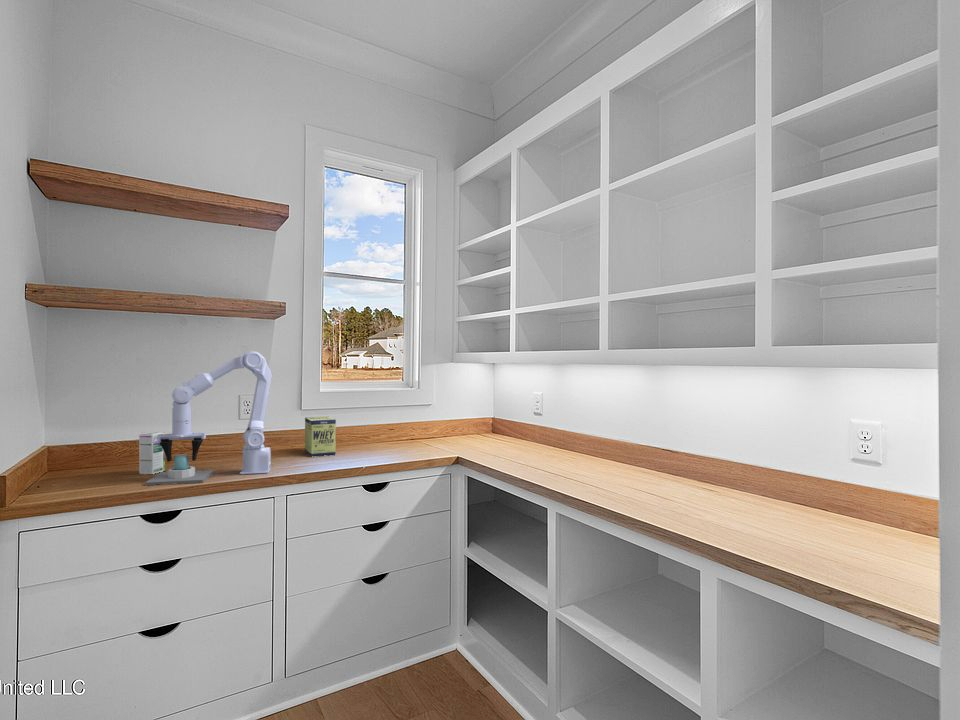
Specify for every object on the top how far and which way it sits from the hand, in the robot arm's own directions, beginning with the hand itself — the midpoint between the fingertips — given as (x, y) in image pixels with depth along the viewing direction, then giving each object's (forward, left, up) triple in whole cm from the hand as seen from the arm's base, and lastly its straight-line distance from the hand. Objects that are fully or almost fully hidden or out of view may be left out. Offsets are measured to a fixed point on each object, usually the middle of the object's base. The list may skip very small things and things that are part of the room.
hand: (181, 460), depth 177 cm
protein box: (-44, -40, -7) cm, 60 cm away
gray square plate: (0, 0, -6) cm, 6 cm away
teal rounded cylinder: (0, 0, -5) cm, 5 cm away
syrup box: (+13, -13, -7) cm, 20 cm away
